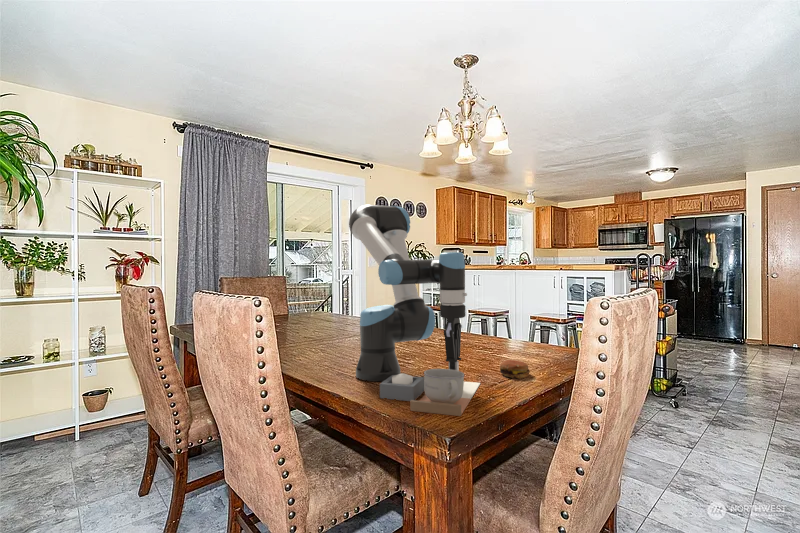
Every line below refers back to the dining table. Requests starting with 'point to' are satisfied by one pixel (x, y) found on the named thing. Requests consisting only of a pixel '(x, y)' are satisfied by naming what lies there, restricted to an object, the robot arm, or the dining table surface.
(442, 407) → the board
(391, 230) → the robot arm
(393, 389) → the grey square tray
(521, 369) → the burger
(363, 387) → the dining table surface
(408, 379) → the white faceted ball
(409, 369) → the dining table surface
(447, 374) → the teacup
